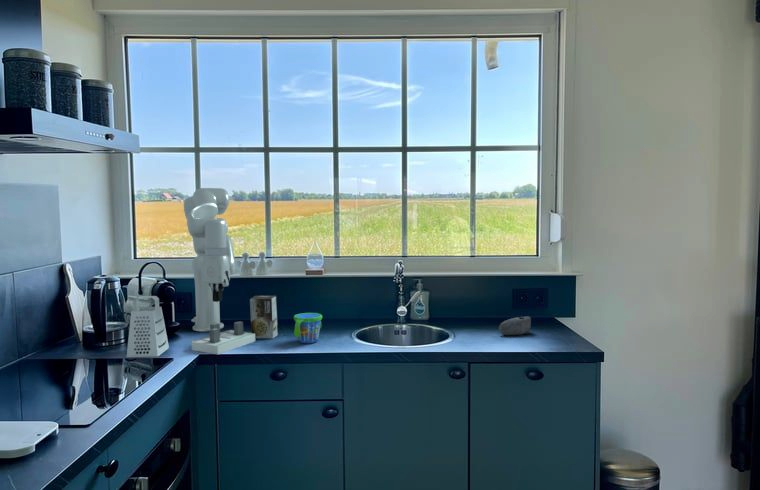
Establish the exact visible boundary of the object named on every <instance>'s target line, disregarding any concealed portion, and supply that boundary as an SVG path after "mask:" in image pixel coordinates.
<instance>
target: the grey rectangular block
mask: <svg viewBox="0 0 760 490" xmlns="http://www.w3.org/2000/svg"><path fill="white" fill-rule="evenodd" d="M214 328H218V329H219V331H220V332H221V329H220V324H219V323H214V324H210V330H211V329H214ZM220 335H221V334H220ZM209 336H210V334H209ZM209 336H208V337H209Z"/></svg>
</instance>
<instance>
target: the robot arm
mask: <svg viewBox="0 0 760 490" xmlns="http://www.w3.org/2000/svg"><path fill="white" fill-rule="evenodd" d="M183 201H184V202H183V211H184V216H185V219H186V225H187V226H186V227H187V230H188V234H189V235H190V237H191V238H192V243H193V244H192V245H193V248H194V249H193V250H194V252H195V255H197V256H195V257H194V258H193V259H192V262H191V264H192V265H191V266H192V267H191V268H192V272H193V277H194V278H193V279H194V289H195V290H194V291H195V292H194V293H195V315H196V316H194V317H193V318H192V319H191V322H192V323H194V325H193V326H192V331H195V332H209V330H210V324H214V323H219V324H220V330H221V329H223V328H224V327H225V325H224V323H223V322H221V317H220V316H221V315H220V314H221V313H220V311H221V310H220V308H221V307H220V302H221V301H223V291H224V289H225V287H229V285H230V283H229V282H230V280H231V276H232V275H234V274H235V273H236V269H237V268H236V259H235V258H236V257H235V253H234V247H233V240H232V239H231V237H230V235H229V234H227V233H228V231H229V225H228V222H227V221H226V220H225V219H224V218H222V217H217V216H220V215H224V213H225V212H226V211H227V209H228V207H229V205H230V195H229V192H228V191H227V190H226V189H224V188H221V187H219V188H217V187H216V188H215V187H214V188H213V187H201V188H198V189H196V190H195V191H194V192H193V195H192V196H188V197H186V198H185V199H184V200H183Z"/></svg>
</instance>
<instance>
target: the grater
mask: <svg viewBox="0 0 760 490" xmlns="http://www.w3.org/2000/svg"><path fill="white" fill-rule="evenodd" d="M139 299H152V300H153V301H154V306H140V307H139ZM132 303H133V304H132V305H133V310H131V311H130V320H129V330H128V331H129V332H128V340H127V350H126V358H146V357H148V358H149V357H151V358H152V357H159V356H160V355H161V354H163V353H164V352H165V351H167V350H168V349H169V348H170V347H169V346H170V345H169V342H168V341H169V340H168V335H167V330H166V324H165V319H164V315H163V314H164V313H163V309H162V306H160V298H159V297H158V296H157V295H145V296H144V295H142V296H141V295H140V296H138V297H135V299H133V302H132ZM140 352H141V353H140ZM147 352H148V353H147Z"/></svg>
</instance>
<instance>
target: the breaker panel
mask: <svg viewBox="0 0 760 490" xmlns="http://www.w3.org/2000/svg"><path fill="white" fill-rule="evenodd" d="M243 332H244V334H241V335H234V334H233V333H234V329H229V330H225V331H223V332H220V334H221V335H220V340H221V341H219V342H216V343H211V342H208V341H210V336H206V337H203V338H199V339H196V340H192V341H191V351H196V352H201V353H206V354H213V355H221V354H224V353H226V352H229V351H231V350H235V349H237V348H238V349H239V348H241V347H243V346H246V345H249V344H252V343H254V342H256V338H255V334H254V333H251V332H247V331H243Z"/></svg>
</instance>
